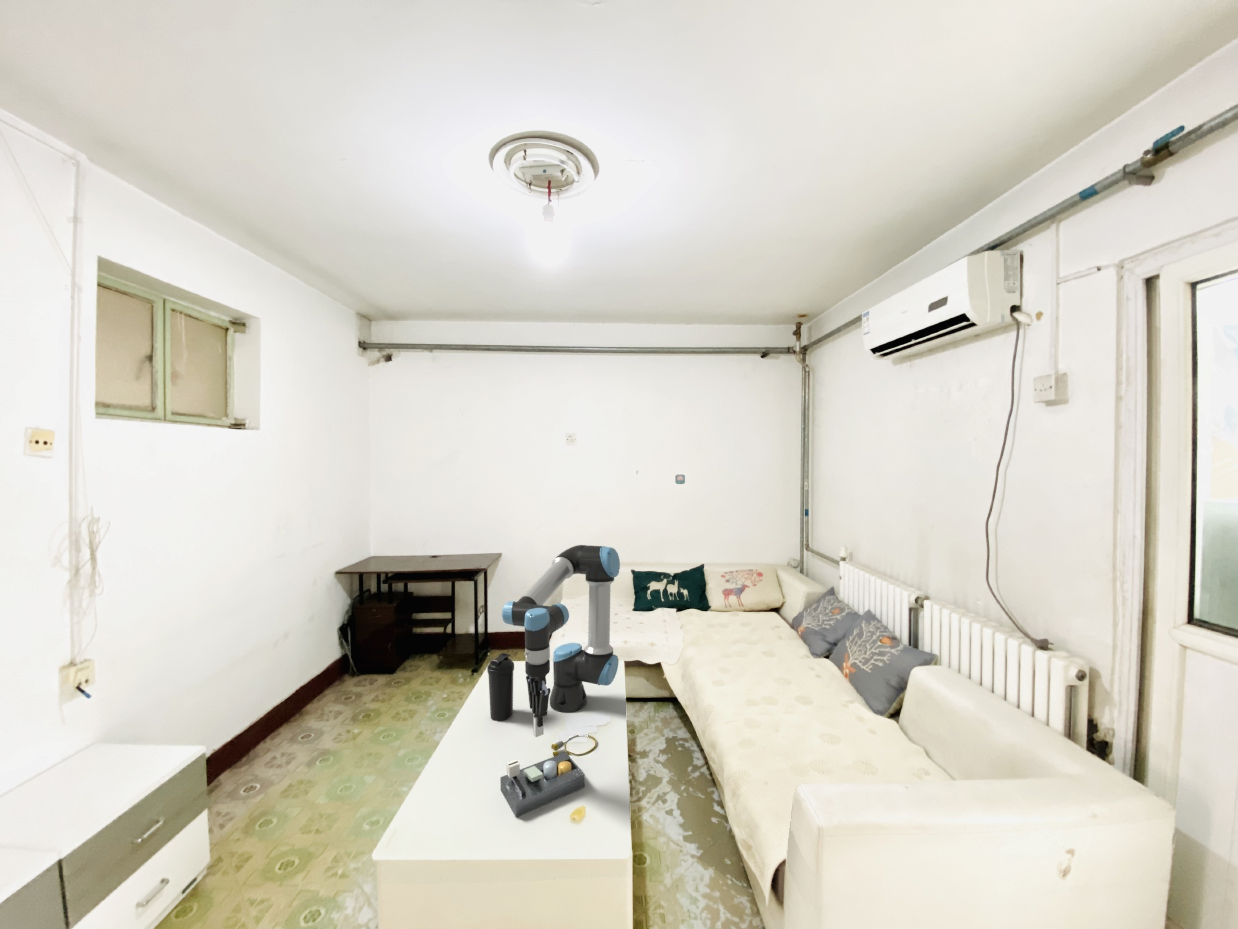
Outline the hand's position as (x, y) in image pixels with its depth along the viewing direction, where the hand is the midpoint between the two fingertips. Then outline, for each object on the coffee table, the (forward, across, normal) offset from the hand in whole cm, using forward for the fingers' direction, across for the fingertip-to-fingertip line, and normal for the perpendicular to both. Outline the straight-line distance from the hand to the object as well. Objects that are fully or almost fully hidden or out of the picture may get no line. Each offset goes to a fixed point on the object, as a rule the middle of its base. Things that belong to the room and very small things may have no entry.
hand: (538, 734), depth 149 cm
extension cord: (+15, -9, +18) cm, 25 cm away
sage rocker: (+9, +4, -4) cm, 10 cm away
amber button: (+14, +4, +7) cm, 16 cm away
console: (+15, +4, -1) cm, 15 cm away
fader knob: (+9, 0, -9) cm, 12 cm away
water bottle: (+15, -43, +4) cm, 45 cm away
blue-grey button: (+12, +4, +2) cm, 13 cm away
